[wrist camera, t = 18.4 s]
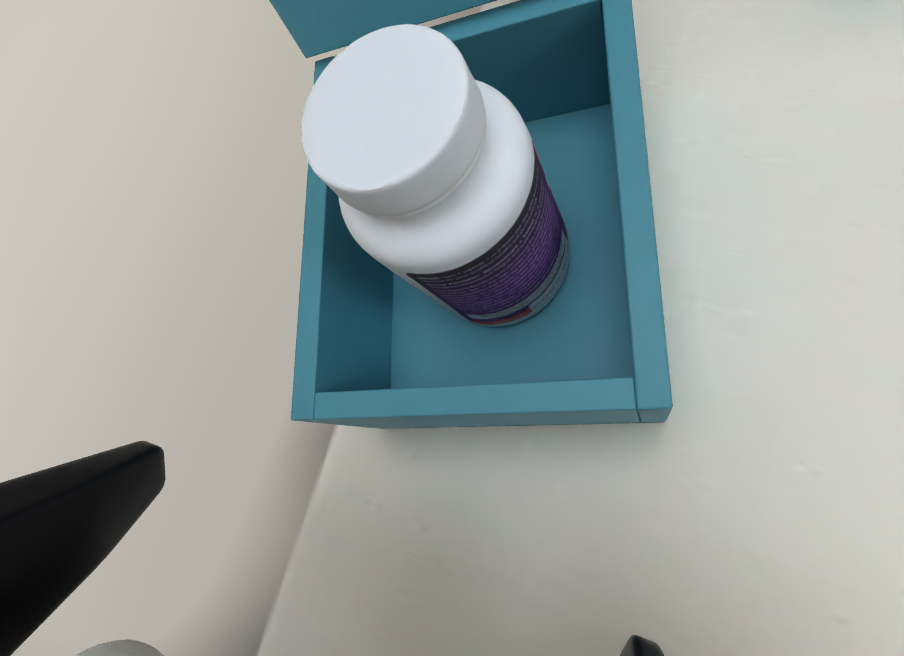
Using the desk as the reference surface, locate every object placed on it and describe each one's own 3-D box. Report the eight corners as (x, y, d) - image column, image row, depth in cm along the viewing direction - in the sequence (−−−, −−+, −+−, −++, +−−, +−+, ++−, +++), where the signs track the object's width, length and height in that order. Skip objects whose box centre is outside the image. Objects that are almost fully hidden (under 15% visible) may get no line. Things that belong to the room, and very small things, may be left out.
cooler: (666, 422, 17) (673, 408, 12) (381, 428, 21) (290, 420, 16) (633, 93, 20) (628, -34, 15) (388, 147, 24) (314, 60, 19)
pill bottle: (596, 217, 19) (549, 9, 10) (533, 352, 19) (427, 261, 10) (469, 178, 21) (338, -20, 12) (411, 298, 21) (234, 184, 12)
